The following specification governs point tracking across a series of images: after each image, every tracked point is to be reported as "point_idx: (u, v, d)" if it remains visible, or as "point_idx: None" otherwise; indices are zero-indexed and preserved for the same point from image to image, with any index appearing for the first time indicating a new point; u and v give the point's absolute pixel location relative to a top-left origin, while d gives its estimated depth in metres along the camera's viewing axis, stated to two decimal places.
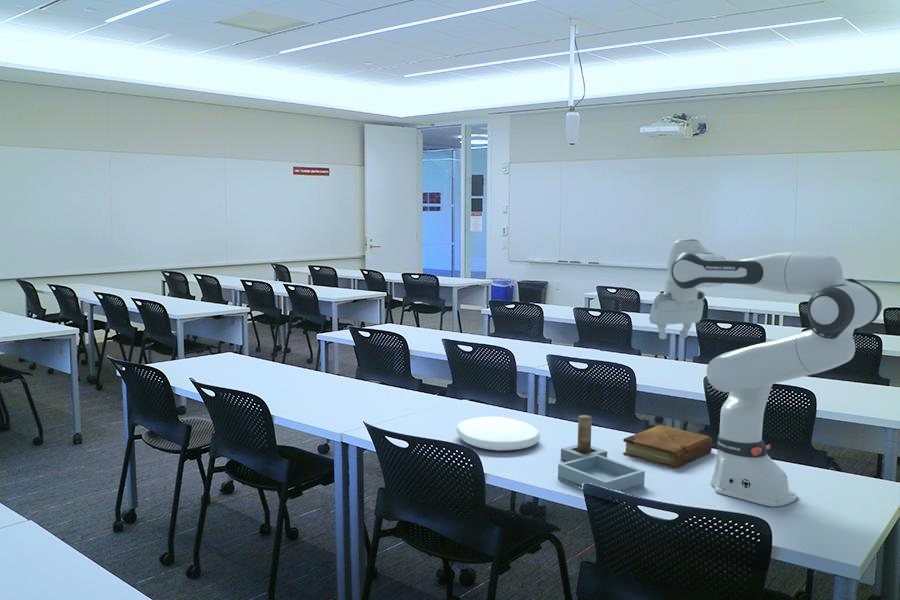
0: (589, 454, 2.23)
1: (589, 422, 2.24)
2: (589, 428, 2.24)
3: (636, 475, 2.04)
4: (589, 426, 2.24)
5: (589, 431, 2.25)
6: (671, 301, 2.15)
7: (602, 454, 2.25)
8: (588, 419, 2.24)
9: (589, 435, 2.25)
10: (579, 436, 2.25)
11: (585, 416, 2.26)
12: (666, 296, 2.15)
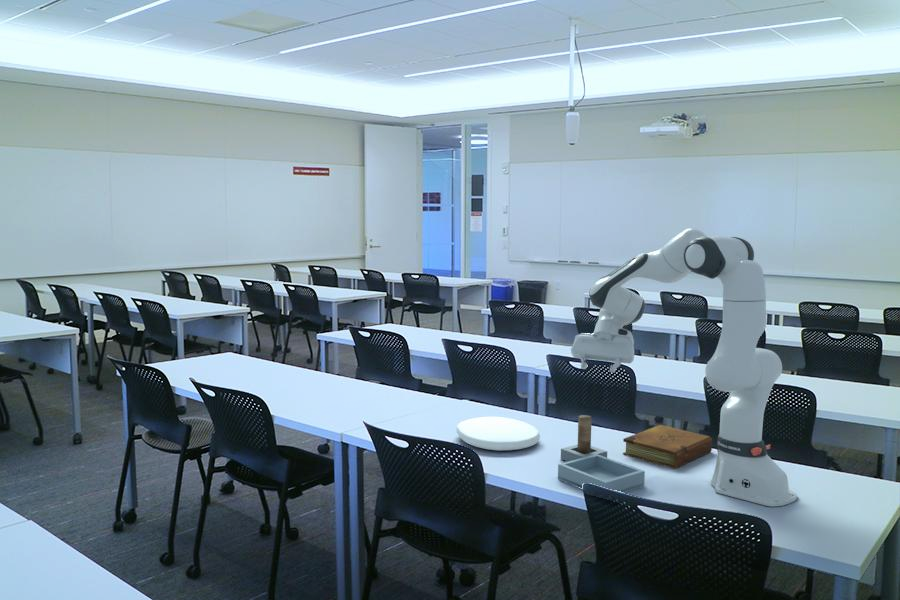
0: (589, 454, 2.23)
1: (589, 422, 2.24)
2: (589, 428, 2.24)
3: (636, 475, 2.04)
4: (589, 426, 2.24)
5: (589, 431, 2.25)
6: (589, 336, 2.43)
7: (602, 454, 2.25)
8: (588, 419, 2.24)
9: (589, 435, 2.25)
10: (579, 436, 2.25)
11: (585, 416, 2.26)
12: (588, 335, 2.45)
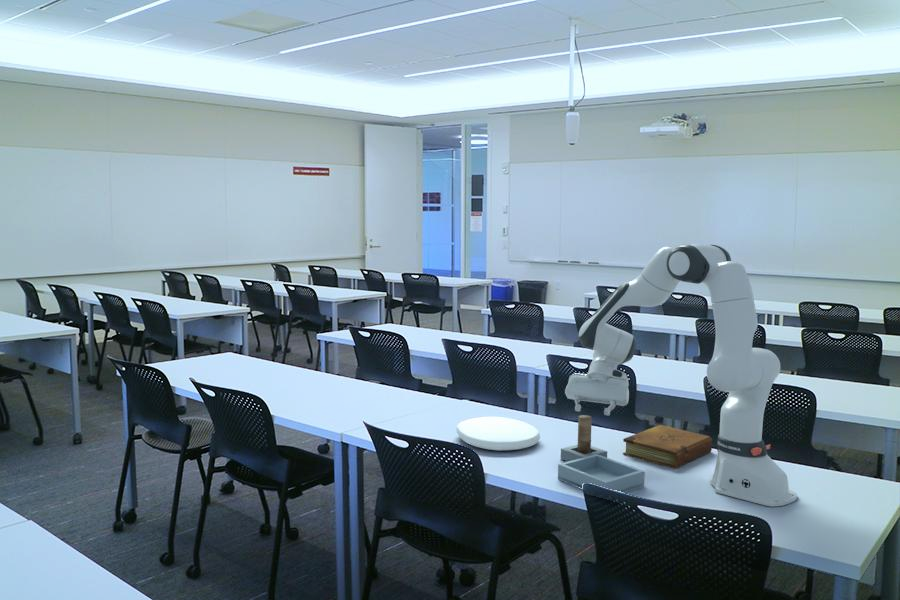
0: (589, 454, 2.23)
1: (589, 422, 2.24)
2: (589, 428, 2.24)
3: (636, 475, 2.04)
4: (589, 426, 2.24)
5: (589, 431, 2.25)
6: (583, 377, 2.39)
7: (602, 454, 2.25)
8: (588, 419, 2.24)
9: (589, 435, 2.25)
10: (579, 436, 2.25)
11: (585, 416, 2.26)
12: (582, 375, 2.41)
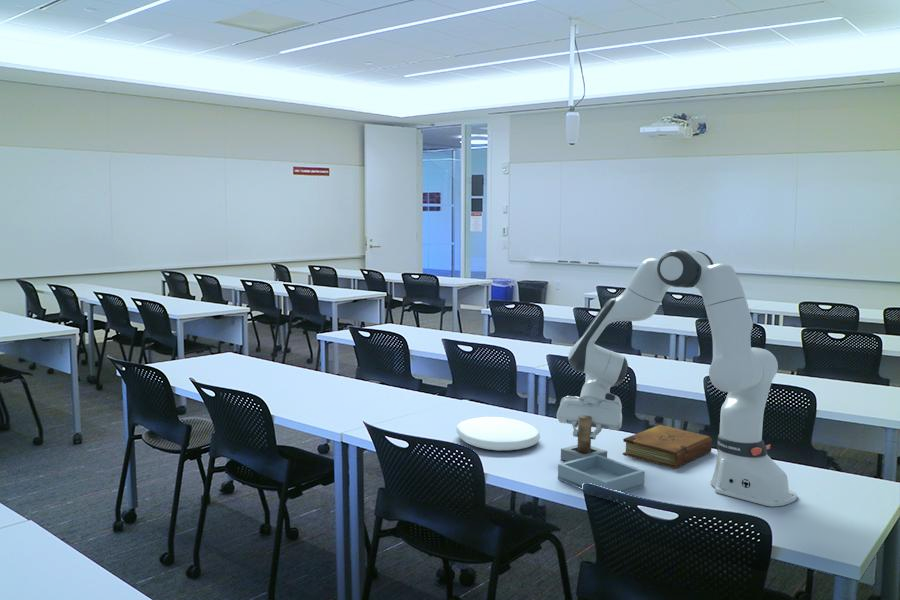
0: (589, 454, 2.23)
1: (589, 422, 2.24)
2: (589, 428, 2.24)
3: (636, 475, 2.04)
4: (589, 426, 2.24)
5: (589, 431, 2.25)
6: (575, 400, 2.33)
7: (602, 454, 2.25)
8: (588, 419, 2.24)
9: (589, 435, 2.25)
10: (579, 436, 2.25)
11: (585, 416, 2.26)
12: (574, 398, 2.35)
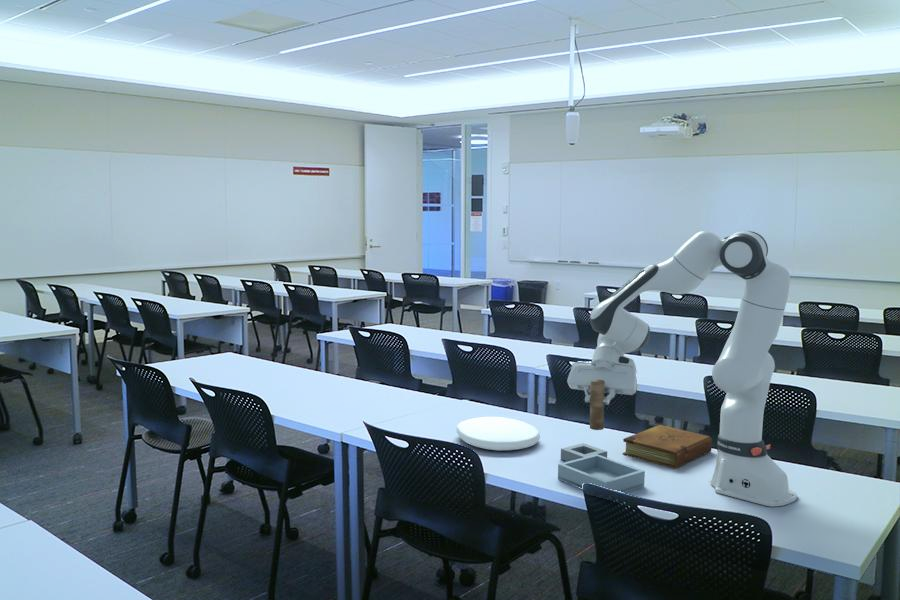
0: (589, 454, 2.23)
1: (602, 386, 2.11)
2: (602, 392, 2.11)
3: (636, 475, 2.04)
4: (602, 390, 2.11)
5: (602, 396, 2.11)
6: (587, 364, 2.20)
7: (602, 454, 2.25)
8: (601, 383, 2.11)
9: (602, 400, 2.12)
10: (591, 401, 2.12)
11: (597, 380, 2.13)
12: (585, 363, 2.22)
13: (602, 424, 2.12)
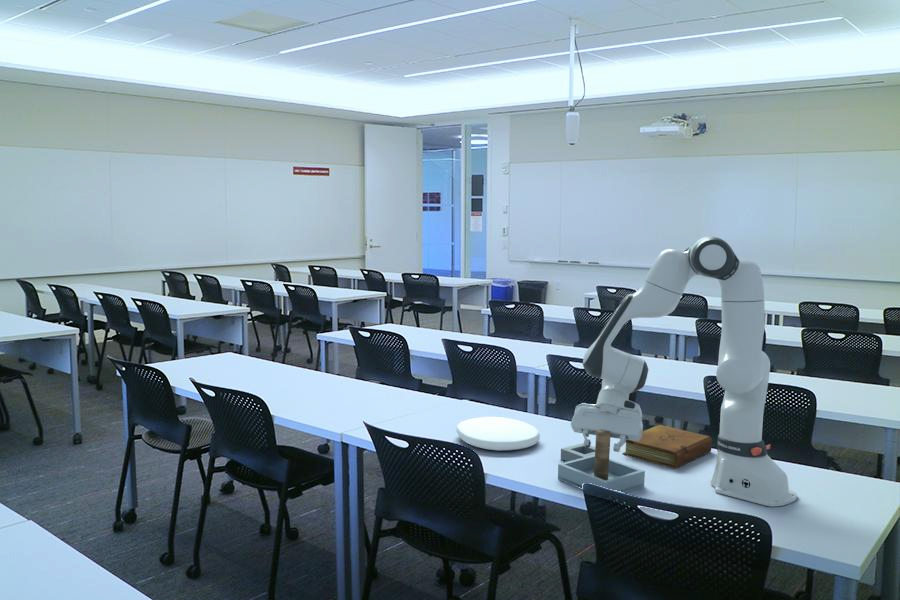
0: (589, 454, 2.23)
1: (608, 437, 2.05)
2: (608, 444, 2.05)
3: (636, 475, 2.04)
4: (608, 442, 2.05)
5: (608, 447, 2.06)
6: (591, 407, 2.14)
7: None
8: (607, 434, 2.05)
9: (608, 451, 2.06)
10: (597, 452, 2.06)
11: (603, 431, 2.07)
12: (590, 405, 2.16)
13: (607, 476, 2.07)
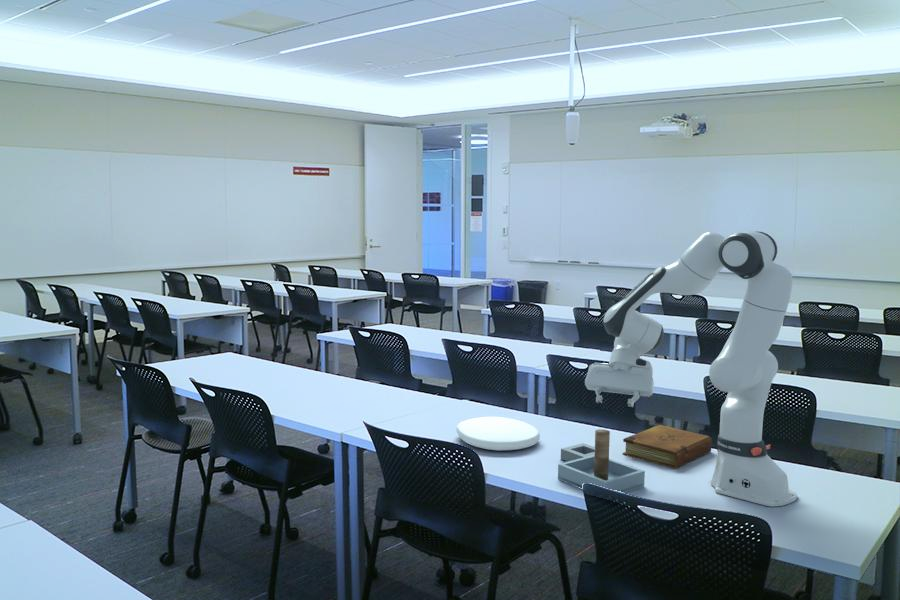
0: (589, 454, 2.23)
1: (607, 437, 2.05)
2: (607, 443, 2.06)
3: (636, 475, 2.04)
4: (607, 441, 2.06)
5: (607, 447, 2.06)
6: (604, 366, 2.25)
7: None
8: (606, 434, 2.05)
9: (607, 451, 2.06)
10: (596, 452, 2.07)
11: (602, 430, 2.07)
12: (602, 365, 2.27)
13: (606, 476, 2.07)
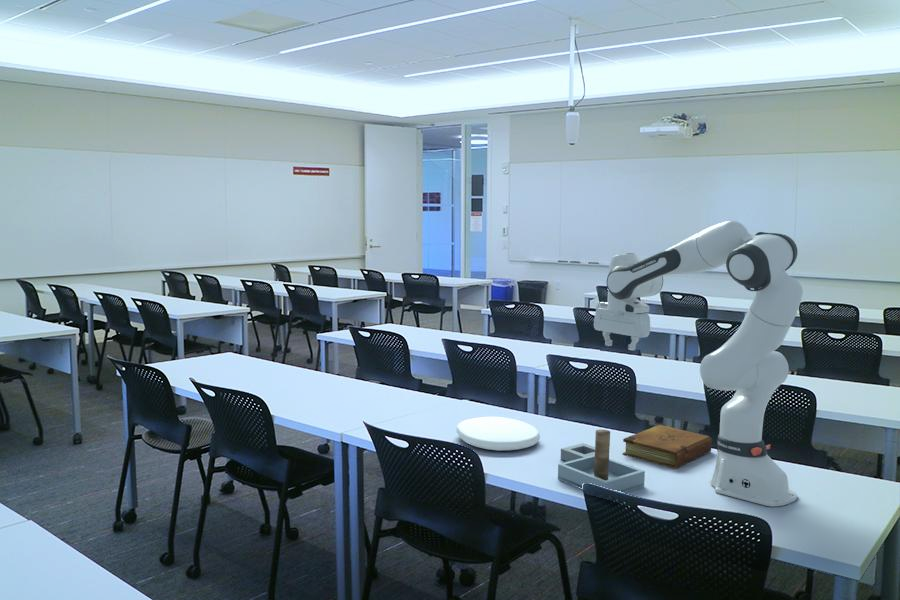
0: (589, 454, 2.23)
1: (607, 437, 2.05)
2: (607, 444, 2.06)
3: (636, 475, 2.04)
4: (607, 442, 2.05)
5: (607, 447, 2.06)
6: (605, 309, 2.34)
7: None
8: (606, 434, 2.05)
9: (607, 451, 2.06)
10: (596, 452, 2.06)
11: (603, 430, 2.07)
12: (605, 305, 2.35)
13: (606, 476, 2.07)
